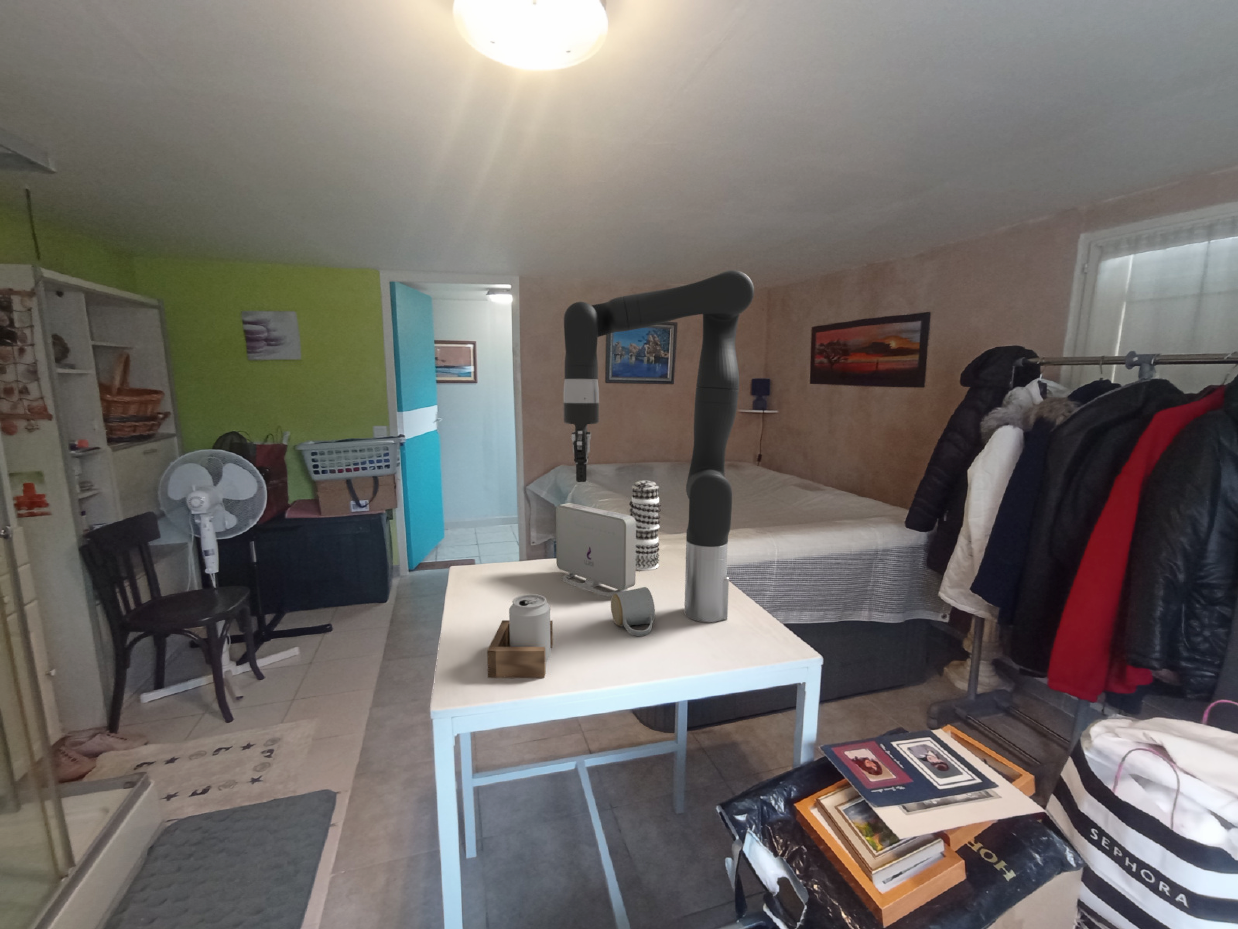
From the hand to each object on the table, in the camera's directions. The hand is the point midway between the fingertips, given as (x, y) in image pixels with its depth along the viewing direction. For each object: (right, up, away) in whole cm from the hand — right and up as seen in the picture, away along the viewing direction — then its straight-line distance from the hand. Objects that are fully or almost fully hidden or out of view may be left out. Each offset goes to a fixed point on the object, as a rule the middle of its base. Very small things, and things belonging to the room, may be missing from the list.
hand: (581, 481), depth 113 cm
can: (-9, -33, -15) cm, 38 cm away
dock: (-10, -33, -15) cm, 38 cm away
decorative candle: (+16, -26, +40) cm, 50 cm away
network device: (+2, -28, +25) cm, 38 cm away
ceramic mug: (+12, -32, 0) cm, 34 cm away
